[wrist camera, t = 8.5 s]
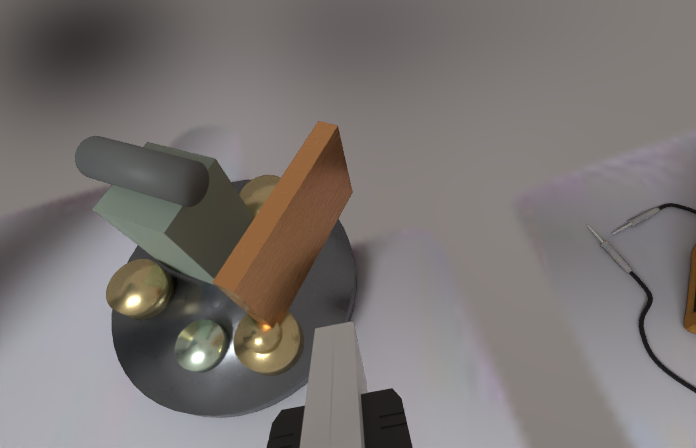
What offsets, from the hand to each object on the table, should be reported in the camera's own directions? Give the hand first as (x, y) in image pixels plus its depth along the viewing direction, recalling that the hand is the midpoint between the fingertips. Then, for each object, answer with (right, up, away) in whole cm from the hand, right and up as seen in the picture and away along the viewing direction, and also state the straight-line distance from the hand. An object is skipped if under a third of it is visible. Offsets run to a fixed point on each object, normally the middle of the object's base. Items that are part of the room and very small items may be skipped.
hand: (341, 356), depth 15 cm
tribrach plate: (-9, 0, +18) cm, 20 cm away
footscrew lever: (-3, +1, +15) cm, 15 cm away
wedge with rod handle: (-11, +3, +18) cm, 22 cm away
